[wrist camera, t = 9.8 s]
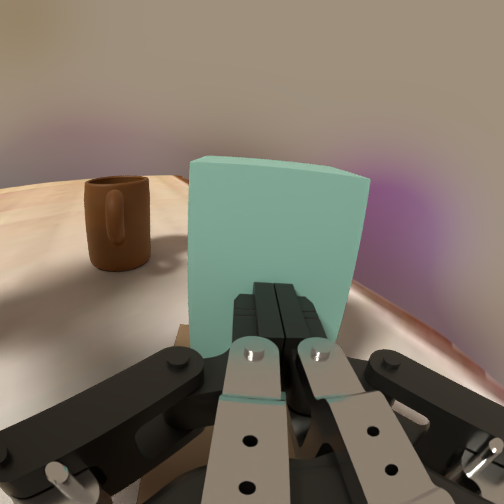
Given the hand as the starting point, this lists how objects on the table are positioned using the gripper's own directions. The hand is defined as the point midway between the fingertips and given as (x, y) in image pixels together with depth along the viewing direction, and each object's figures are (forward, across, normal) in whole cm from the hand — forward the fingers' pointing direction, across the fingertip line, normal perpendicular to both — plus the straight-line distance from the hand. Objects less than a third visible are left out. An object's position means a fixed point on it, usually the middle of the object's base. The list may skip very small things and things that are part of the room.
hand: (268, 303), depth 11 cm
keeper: (+2, 0, +6) cm, 6 cm away
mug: (+18, +14, +8) cm, 24 cm away
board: (-6, 0, +8) cm, 10 cm away
